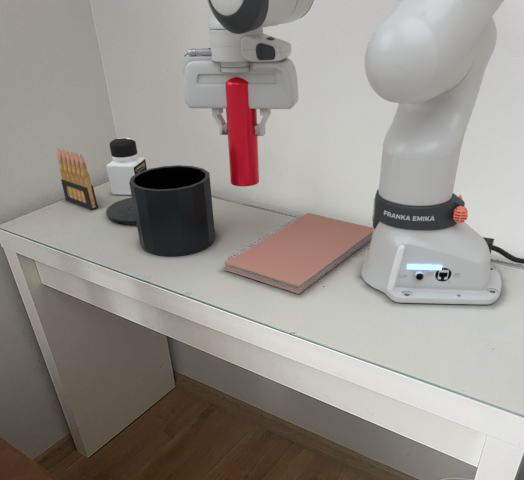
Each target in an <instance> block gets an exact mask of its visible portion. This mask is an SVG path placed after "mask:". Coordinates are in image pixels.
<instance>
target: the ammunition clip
mask: <svg viewBox="0 0 524 480" xmlns="http://www.w3.org/2000/svg"><path fill="white" fill-rule="evenodd" d="M56 153H57V159H58V165H59V166H58V167H59V171H60V177H61V179H60V182H61V186H62V190H63V195H64V198H65V201H66V202H69V203H71V204H74V205H77V206H79V207H81V208H85V209H87V210H90V211H93V210H96V209H98V208H99V205H98V201H97V198H96V193H95V190H94V189H95V188H94V185H92V182H91V178H90V174H89V171H88V168H87V165H86V161H85V159H84V157H83V155H82V154H78V153H77V152H75V153H74V152H73V151H69V150H66V151H65V150H64V149H63V148H62V149H60V148H59V147H57V152H56Z"/></svg>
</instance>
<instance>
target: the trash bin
mask: <svg viewBox="0 0 524 480" xmlns="http://www.w3.org/2000/svg"><path fill="white" fill-rule="evenodd" d="M129 184H130V189H131V195H130V196H131V197H132V201H133V206H134V212H135V217H136V223H137V224H136V227H137V228H136V229H137V233H138V239H139V244H140V246H141V248H142V249H143V250H144V251H145V252H146V253H149V254H151V255H155V256H159V257H183V256H188V255H189V256H190V255H194V254H197V253H200V252H203V251H205V250H206V249H208V248H210V247H211V246H212V245H213V244H214V243H215V241H216V232H215V219H214V207H213V199H212V198H213V197H212V188H211V187H212V186H211V175H210V172H209V171H208V170H206V169H204V168H202V167H199V166H194V165H183V164H181V165H179V164H177V165H176V164H175V165H163V166H157V167H152V168H147V170H145V171H142V172H139V173H137V174H135V175H134V176H132V177H131V179H130V182H129Z"/></svg>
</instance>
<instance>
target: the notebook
mask: <svg viewBox="0 0 524 480" xmlns="http://www.w3.org/2000/svg"><path fill="white" fill-rule="evenodd" d="M373 229H374V228H373V226H372V227H370V226H366V225H363V224H359V223H354V222H350V221H345V220H341V219H337V218H332V217H327V216H323V215H319V214H315V213H310V212H306V213H305V214H302V215H300V214H299V215H297V216H295V217H294V218H292V219H290V220H288V221H287V222H285V223H283V224H281V225H279V226H278V227H276V228H275V229H273V230H271V231H270V232H267V233H266V234H264V235H263V236H261V237H259V238H258V239H256V240H254V241H252V242H251V243H249V244H247V245H245V246H244V247H242V248H241V249H239V250H237V251H235V252H233V253H231V254H229V256H228V257H227V260H224V261H223V264H224V265H225V268H223V270H224V271H227V272H230V273H232V274H235V275H238V276H242V277H245V278H249V279H251V280H254V281H257V282H261V283H263V284H267V285H270V286H273V287H276V288H278V289H282V290H284V291H285V290H286V291H288V292H292V293H294V294H298V295H300V294H301V293H302V292H304V291H305V290H307V289H308V288H309V287H311V286H312V285H313V284H314V283H316V282H317V281H318V280H320V279H321V278H323V276H325V275H326V274H328V273H329V272H330V271H331V270H333V269H334V268H336V267H337V266H338V265H339V264H340V263H342V262H343V261H345V260H346V259H347V258H349V257H350V256H352V255H353V254H354V253H355V252H357V251H359V249H361V248H362V247H363V246H364V245H366V244H368V243H369V242H371V239H372V234H373Z"/></svg>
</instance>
